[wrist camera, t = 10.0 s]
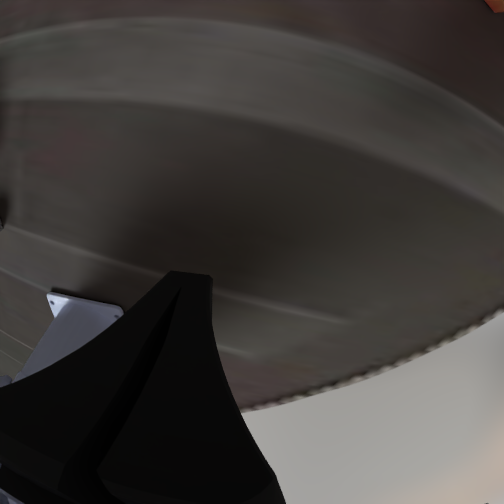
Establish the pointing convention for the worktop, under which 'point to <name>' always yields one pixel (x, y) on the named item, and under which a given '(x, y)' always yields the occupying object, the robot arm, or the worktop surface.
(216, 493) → the robot arm
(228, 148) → the worktop surface
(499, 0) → the cracker box
